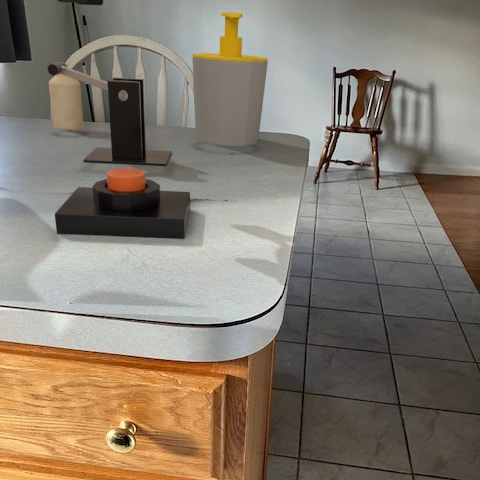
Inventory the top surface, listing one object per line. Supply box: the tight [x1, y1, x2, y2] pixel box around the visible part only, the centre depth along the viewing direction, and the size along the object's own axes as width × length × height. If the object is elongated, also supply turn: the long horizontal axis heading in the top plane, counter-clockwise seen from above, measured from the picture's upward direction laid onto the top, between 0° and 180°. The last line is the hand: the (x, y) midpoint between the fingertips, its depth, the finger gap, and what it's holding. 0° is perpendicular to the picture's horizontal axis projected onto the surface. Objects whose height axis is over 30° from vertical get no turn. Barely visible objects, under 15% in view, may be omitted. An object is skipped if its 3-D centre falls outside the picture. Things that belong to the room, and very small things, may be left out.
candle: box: [48, 74, 85, 131], centre depth 100 cm, size 6×6×10 cm
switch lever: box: [47, 61, 108, 92], centre depth 78 cm, size 12×5×2 cm, turn 91°
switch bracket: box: [82, 77, 172, 167], centre depth 81 cm, size 12×9×12 cm
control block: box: [54, 178, 191, 240], centre depth 59 cm, size 13×10×4 cm
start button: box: [106, 167, 146, 192], centre depth 58 cm, size 4×4×2 cm
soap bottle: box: [191, 11, 269, 147], centre depth 95 cm, size 13×13×21 cm
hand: (81, 3), depth 62 cm, fingers open, 9 cm apart
